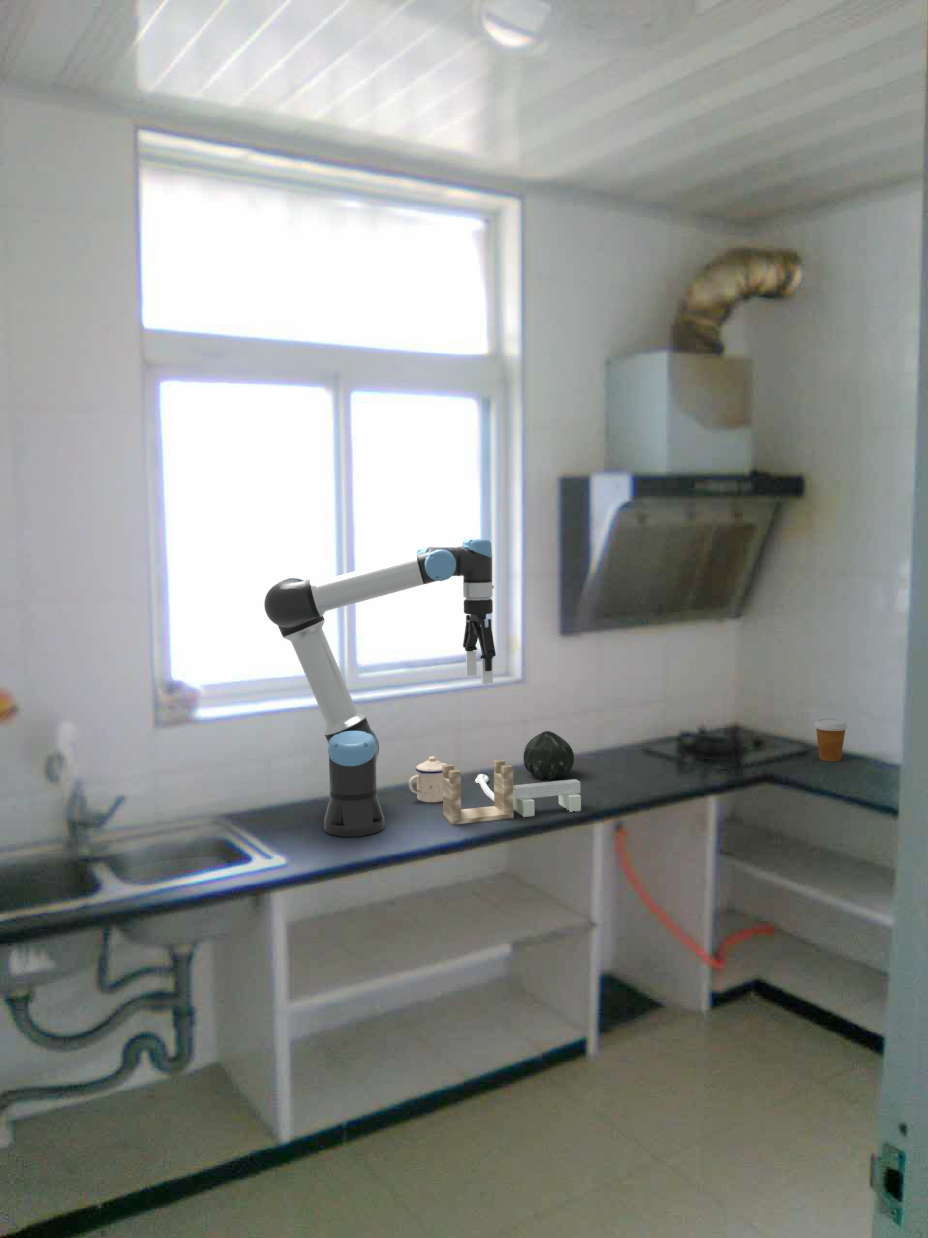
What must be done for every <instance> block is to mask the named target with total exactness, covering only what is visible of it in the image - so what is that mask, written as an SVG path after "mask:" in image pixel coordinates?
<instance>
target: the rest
mask: <svg viewBox="0 0 928 1238" xmlns="http://www.w3.org/2000/svg"><path fill="white" fill-rule="evenodd" d="M558 805H560V806H561V807H562V808H564V809H565V808H566V809H565V810H567V811H568V810H569V811H568V812H570V813H572V812H573V811H575V812H581V811H582V796H581V795H580V793H576V794H567V795H558ZM513 811H516V812H517V813H518V814H519V815H521V816H522V817H523V818H526V817H534V816H535V800H534V798H528V799H518V800H516V799H515V798H514V797H513Z"/></svg>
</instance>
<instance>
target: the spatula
mask: <svg viewBox="0 0 928 1238" xmlns="http://www.w3.org/2000/svg"><path fill="white" fill-rule="evenodd" d="M489 780H490V778H489V776H488V775H486V774H483V773H479V774H478V775H477V777H476V778H475V779H474V783H475V782H476V783H479V784H478V785H480V787H481V789H482V791H483V793H484V794H485V795H486V796H487V797H488V798H489V799H490V800H491V801H493V802H494V791H492V790H491V789H490V788H489V785H488V784H487V783H488V782H489ZM476 783H475V784H476Z"/></svg>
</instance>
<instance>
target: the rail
mask: <svg viewBox="0 0 928 1238" xmlns="http://www.w3.org/2000/svg"><path fill="white" fill-rule="evenodd" d="M576 793H577V794H581V781H580V780H578V779H577V778H575V779H564V780H553V781H543V782H535V783H534V782H533V783H523V784H513V797H514V798H515V799H516V800H518V799H528V798H531V799H537V798H545V797H554V796H555V797H556V796H559V795H567V794H576Z"/></svg>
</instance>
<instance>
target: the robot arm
mask: <svg viewBox="0 0 928 1238" xmlns="http://www.w3.org/2000/svg"><path fill="white" fill-rule="evenodd" d="M492 550H493V549H492V542H491V541H490V540H489V539H487V538H475V539H474V538H472V539H469V538H468V539H464V540H462V544H461V546H456V547H454V546H453V547H449V546H448V547H446V546H445V547H439V546H438V547H437V546H436V547H433V546H429V547H420V548H418V549H417V551H416V554H415V555H412V556H408V557H404V558H403V557H402V558H400V559H395V560H393V561H389V562H386V563H381V564H378V565H374V566H371V567H366V568H362V569H360V570H359V569H358V570H356V571H351V572H348V573H345V574H340V575H337V576H332V577H329V578H326V579H322V580H314V579H313V578H309V579H307V580H306V579H305V580H303V579H301V578H297V577H296V578H295V577H291V578H289V577H288V578H287V579H283V580H281V581H279V582H278V583H276V584H274V585H273V586H271V588H270V589H269V590H268V592H267V593H266V595H265V598H264V604H263V605H264V611H265V615H266V616H267V618H268V619H269V620H270V621H271V622H272V623H274V624H275V625H276V626H277V627H278V629H279V632H280V634H281V635H282V638H283V639H285V640H287V641H290V642H291V644H292V647H293V649H294V651H295V653H296V656H297V658H298V661H299V663H300V665H301V668H302V670H303V673H304V675H305V677H306V679H307V683H308V684H309V686H310V689H311V691H312V695H313V696H314V698H315V701H316V703H317V705H318V708H319V710H320V712H321V715H322V717H323V720H324V722H325V723H326V726H325V730H324V732H323V733H324V736H325V739H326V742H327V743H328V744H327V745H328V746H327V747H328V748H327V754H328V766H329V767H328V768H329V769H328V771H329V772H328V773H329V801H328V804H327V809H326V812H325V815H324V818H323V829H324V832H326V833H327V834H329V835H331V836H332V835H333V836H337V837H346V838H347V837H348V838H351V837H353V838H354V837H363V836H364V837H365V836H368V835H373V834H376V833H379V832H381V831H383V830H384V828H385V816H384V814H383V810H382V807H381V805H380V802H379V799H378V796H377V794H378V793H377V792H378V790H377V761H378V757H379V751H380V742H379V739H378V737H377V735H376V734H375V732H374V731H373V730H372V729H371V727H370V724H369V721H368V719H367V717H366V715H365V714H363V713H360V712H358V711H357V708H356V705H355V704H354V701H353V699H352V696H351V694H350V692H349V690H348V687H347V684H346V682H345V680H344V677H343V675H342V673H341V671H340V668H339V665H338V663H337V661H336V659H335V656H334V654H333V651H332V649H331V646H330V644H329V641H328V640H327V637H326V635H325V632H324V630H323V626H324V624H325V621H326V620H325V617H324V614H325V613H326V612H327V611H331V610H335V609H339V608H342V607H346V606H349V605H354V604H357V603H361V602H364V601H369V600H371V599H375V598H379V597H383V596H386V595H391V594H394V593H397V592H401V591H405V590H408V589H413V588H415V587H419V586H422V585H423V586H424V585H427V584H431V583H435V582H443V581H446V580H448V579H450V578H452V577H463V582H462V585H463V586H462V587H463V588H462V595H463V596H462V597H463V598H465V599H464V600H463V613H464V614H465V615H466V616H465V628H464V634H463V643H462V648H464V650H465V675H466V677H469V676H477V651H478V648H477V643H479V646H480V651H481V655H480V660H481V684H482V685H483V684H486V685H487V684H493V683H494V679H493V677H494V674H493V672H494V671H493V668H494V667H493V664H494V663H493V658H494V657H496V656H497V655H496V649H495V642H494V636H493V630H492V629H493V628H492V619H491V618H487V615H490V614H492V613H493V610H494V609H493V607H494V606H493V605H494V604H493V602H494V601H493V600H492V599H491V598H492V597H493V590H494V588H495V587H494V586H495V585H493V553H492Z"/></svg>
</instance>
